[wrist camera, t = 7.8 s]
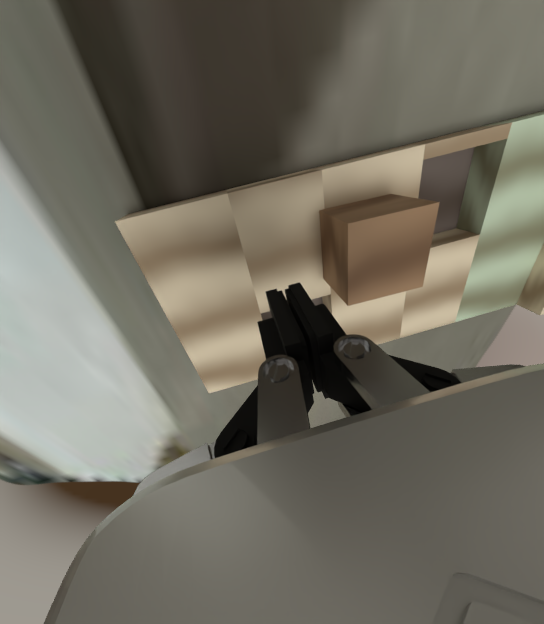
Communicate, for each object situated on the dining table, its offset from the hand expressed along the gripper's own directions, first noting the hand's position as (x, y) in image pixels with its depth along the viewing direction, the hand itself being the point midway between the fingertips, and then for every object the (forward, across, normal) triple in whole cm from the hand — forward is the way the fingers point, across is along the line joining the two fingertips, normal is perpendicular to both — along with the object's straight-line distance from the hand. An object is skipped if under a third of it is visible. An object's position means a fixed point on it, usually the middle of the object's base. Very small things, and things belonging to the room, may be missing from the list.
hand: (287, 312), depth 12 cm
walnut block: (+10, -8, +1) cm, 13 cm away
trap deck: (+12, -10, +5) cm, 17 cm away
